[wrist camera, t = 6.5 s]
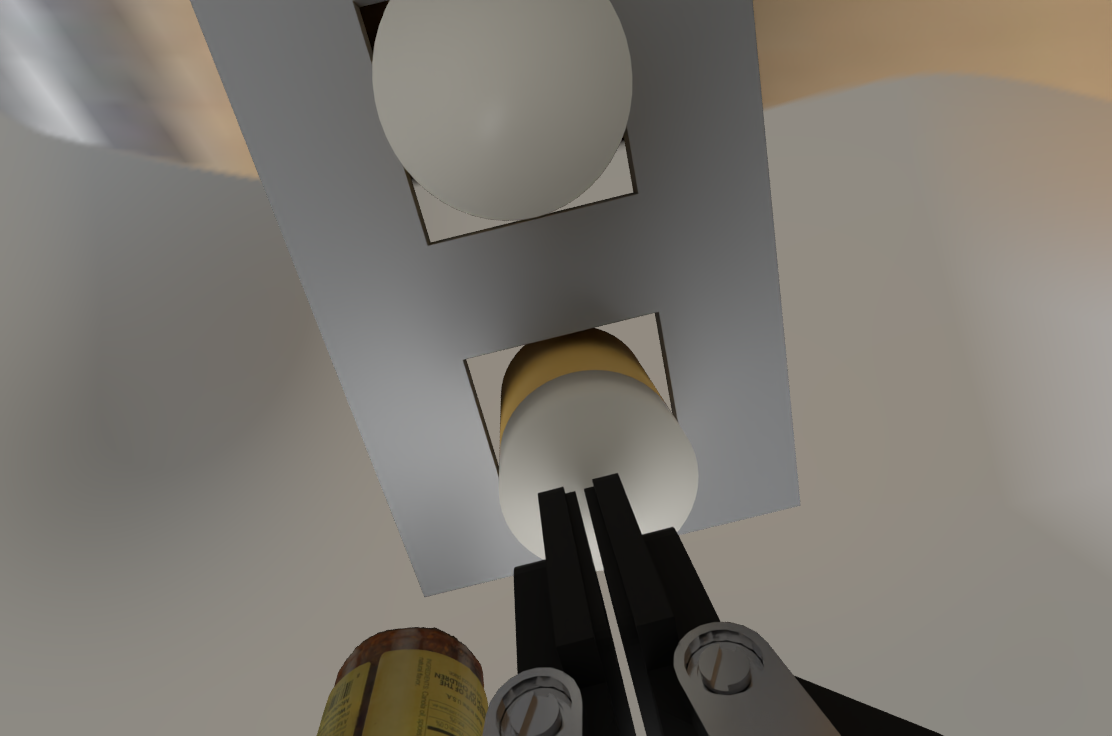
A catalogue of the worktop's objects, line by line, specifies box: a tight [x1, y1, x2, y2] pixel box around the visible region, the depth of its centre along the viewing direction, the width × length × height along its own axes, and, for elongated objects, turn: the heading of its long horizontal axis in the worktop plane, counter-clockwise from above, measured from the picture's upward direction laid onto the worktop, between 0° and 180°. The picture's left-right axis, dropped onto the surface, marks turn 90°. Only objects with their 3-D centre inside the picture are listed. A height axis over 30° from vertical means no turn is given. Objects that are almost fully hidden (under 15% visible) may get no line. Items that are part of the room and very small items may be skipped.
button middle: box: [372, 0, 632, 221], centre depth 13 cm, size 5×5×6 cm
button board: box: [190, 0, 800, 597], centre depth 15 cm, size 12×26×4 cm, turn 13°
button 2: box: [499, 328, 699, 571], centre depth 16 cm, size 5×5×6 cm
